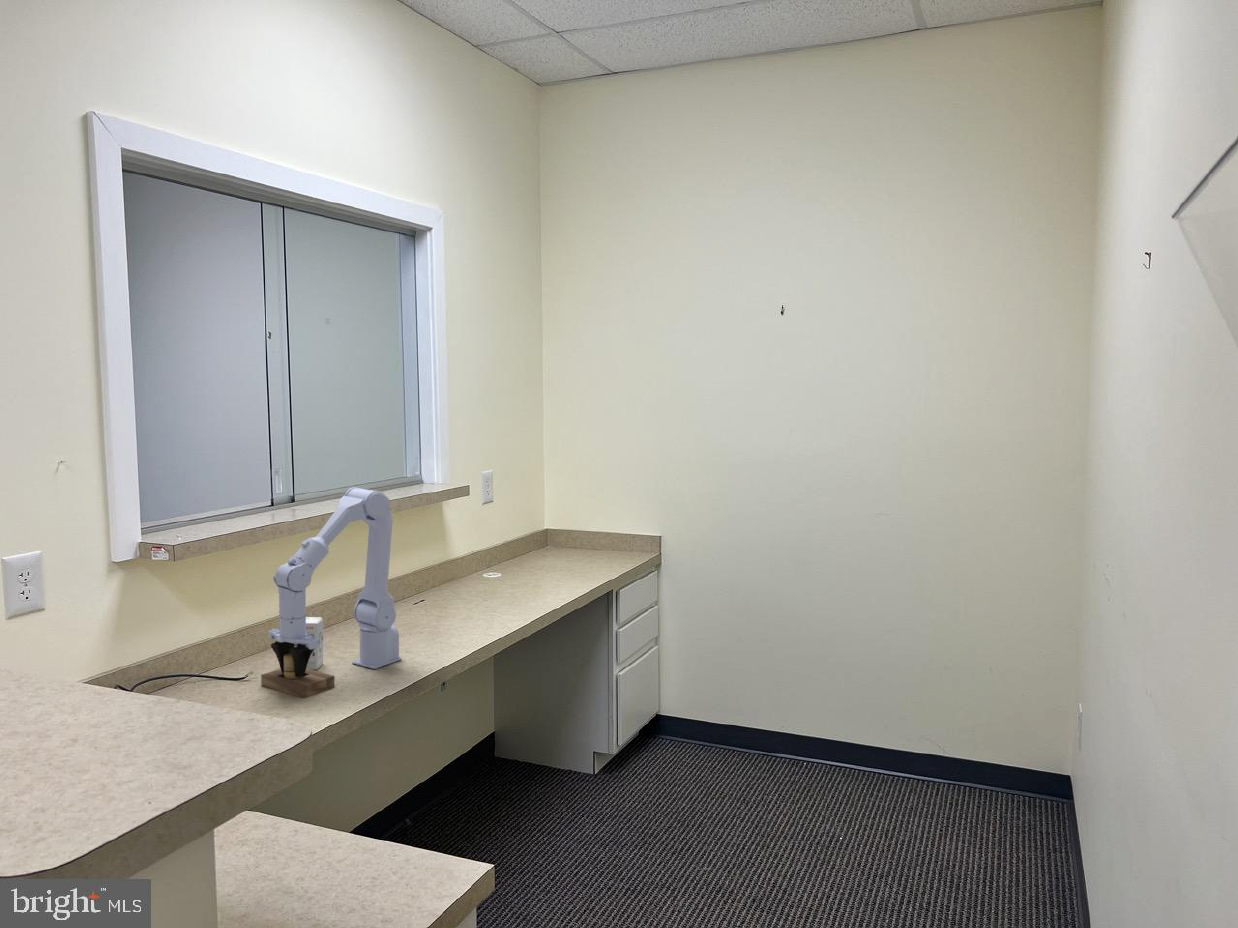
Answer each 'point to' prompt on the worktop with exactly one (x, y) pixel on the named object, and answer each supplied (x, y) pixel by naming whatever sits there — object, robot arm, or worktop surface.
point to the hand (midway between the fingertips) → (293, 673)
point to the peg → (289, 667)
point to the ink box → (316, 631)
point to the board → (298, 682)
